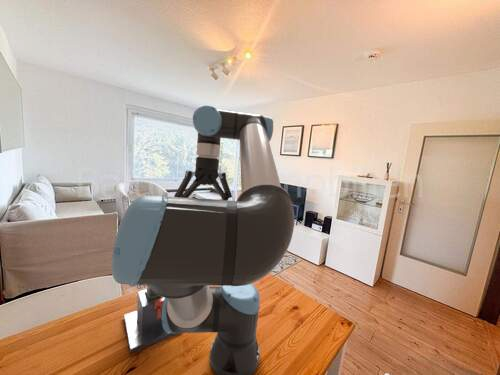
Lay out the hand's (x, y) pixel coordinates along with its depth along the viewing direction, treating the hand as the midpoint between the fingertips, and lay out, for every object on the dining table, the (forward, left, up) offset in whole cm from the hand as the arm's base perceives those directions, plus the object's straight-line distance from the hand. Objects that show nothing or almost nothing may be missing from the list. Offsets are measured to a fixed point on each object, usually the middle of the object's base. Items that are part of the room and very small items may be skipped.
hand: (203, 218), depth 73 cm
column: (+5, +14, -29) cm, 33 cm away
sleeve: (+5, +14, -39) cm, 41 cm away
